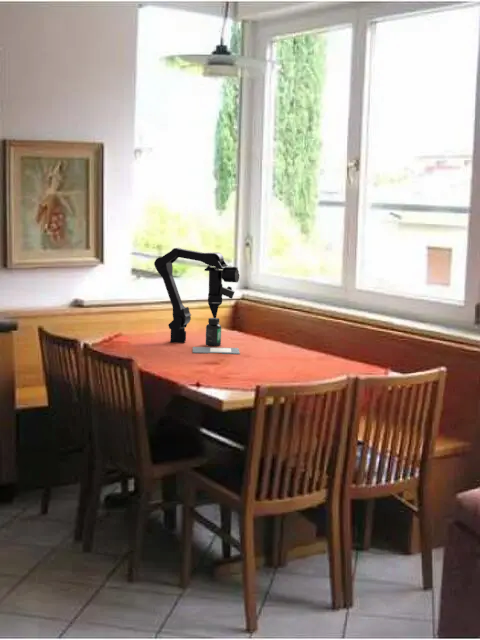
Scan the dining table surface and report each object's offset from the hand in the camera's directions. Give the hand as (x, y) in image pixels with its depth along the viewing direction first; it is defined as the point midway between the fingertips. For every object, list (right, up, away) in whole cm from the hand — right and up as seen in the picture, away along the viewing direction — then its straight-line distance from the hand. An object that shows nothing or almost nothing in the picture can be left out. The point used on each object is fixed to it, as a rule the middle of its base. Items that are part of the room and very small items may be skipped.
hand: (214, 316), depth 420 cm
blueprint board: (+1, -15, -12) cm, 19 cm away
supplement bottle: (-1, -13, +2) cm, 13 cm away
